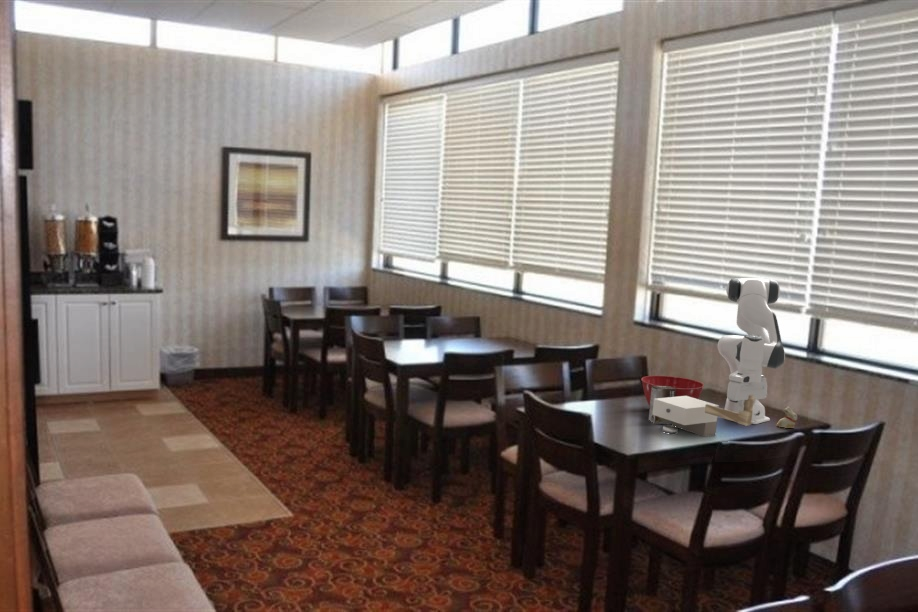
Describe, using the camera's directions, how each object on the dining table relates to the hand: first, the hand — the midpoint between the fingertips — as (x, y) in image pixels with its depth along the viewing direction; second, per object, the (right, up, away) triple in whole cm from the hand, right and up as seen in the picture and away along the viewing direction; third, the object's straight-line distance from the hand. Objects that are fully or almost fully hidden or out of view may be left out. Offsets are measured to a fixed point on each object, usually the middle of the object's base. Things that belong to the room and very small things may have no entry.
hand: (745, 410), depth 324 cm
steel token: (-24, -13, +24) cm, 36 cm away
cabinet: (-17, -13, +27) cm, 34 cm away
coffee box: (-24, -11, +41) cm, 48 cm away
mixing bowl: (-15, -9, +59) cm, 61 cm away
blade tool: (-5, -4, +8) cm, 10 cm away
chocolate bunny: (+35, -14, +47) cm, 60 cm away
